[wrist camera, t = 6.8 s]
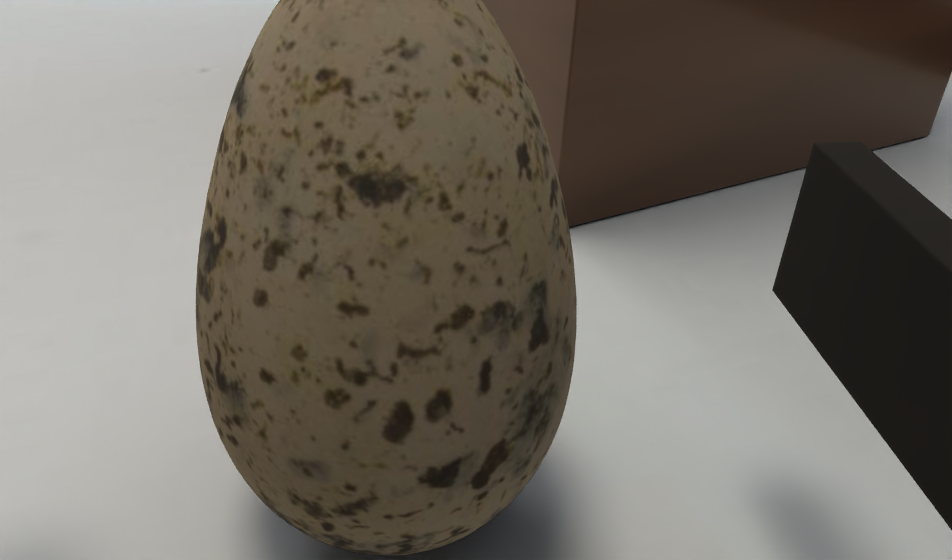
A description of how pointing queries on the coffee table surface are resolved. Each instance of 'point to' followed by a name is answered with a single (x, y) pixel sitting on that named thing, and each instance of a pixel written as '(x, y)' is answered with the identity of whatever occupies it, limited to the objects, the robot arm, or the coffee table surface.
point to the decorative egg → (385, 274)
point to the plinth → (719, 87)
